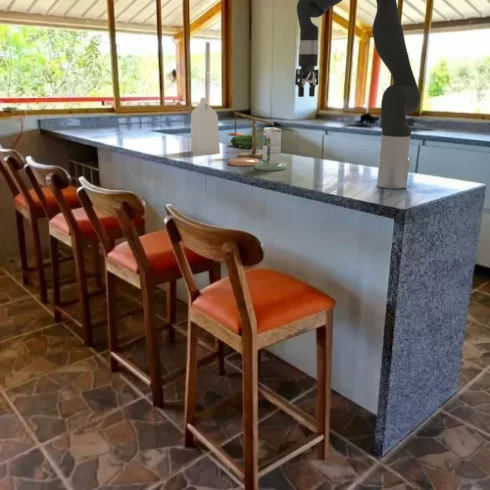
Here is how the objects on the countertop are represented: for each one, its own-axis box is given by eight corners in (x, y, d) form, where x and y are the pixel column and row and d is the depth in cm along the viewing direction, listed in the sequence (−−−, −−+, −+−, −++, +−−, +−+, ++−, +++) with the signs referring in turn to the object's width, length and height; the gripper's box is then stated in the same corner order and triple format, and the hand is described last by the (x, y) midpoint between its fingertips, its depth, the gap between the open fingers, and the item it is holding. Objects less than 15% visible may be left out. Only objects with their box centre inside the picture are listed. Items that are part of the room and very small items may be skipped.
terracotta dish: (258, 161, 212) (258, 157, 211) (259, 166, 200) (259, 162, 199) (229, 161, 212) (229, 157, 211) (228, 166, 199) (228, 162, 199)
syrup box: (261, 163, 197) (262, 127, 193) (274, 162, 199) (275, 127, 195) (267, 165, 192) (268, 128, 188) (280, 164, 194) (282, 128, 190)
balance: (279, 156, 227) (280, 111, 220) (280, 158, 221) (282, 112, 214) (228, 155, 227) (228, 111, 220) (227, 158, 220) (227, 112, 213)
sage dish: (285, 165, 203) (285, 161, 202) (288, 170, 190) (288, 166, 190) (254, 165, 202) (254, 161, 202) (255, 170, 190) (255, 166, 190)
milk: (219, 153, 234) (219, 98, 226) (197, 154, 230) (195, 98, 222) (212, 150, 245) (211, 97, 236) (190, 151, 241) (189, 97, 232)
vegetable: (253, 132, 247) (228, 130, 261) (248, 145, 247) (224, 142, 261) (262, 138, 252) (237, 135, 266) (258, 151, 252) (233, 147, 266)
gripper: (307, 52, 179) (305, 97, 185) (325, 54, 190) (323, 96, 195) (290, 52, 184) (289, 96, 189) (309, 54, 194) (307, 96, 200)
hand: (306, 96), depth 192 cm, fingers open, 8 cm apart
